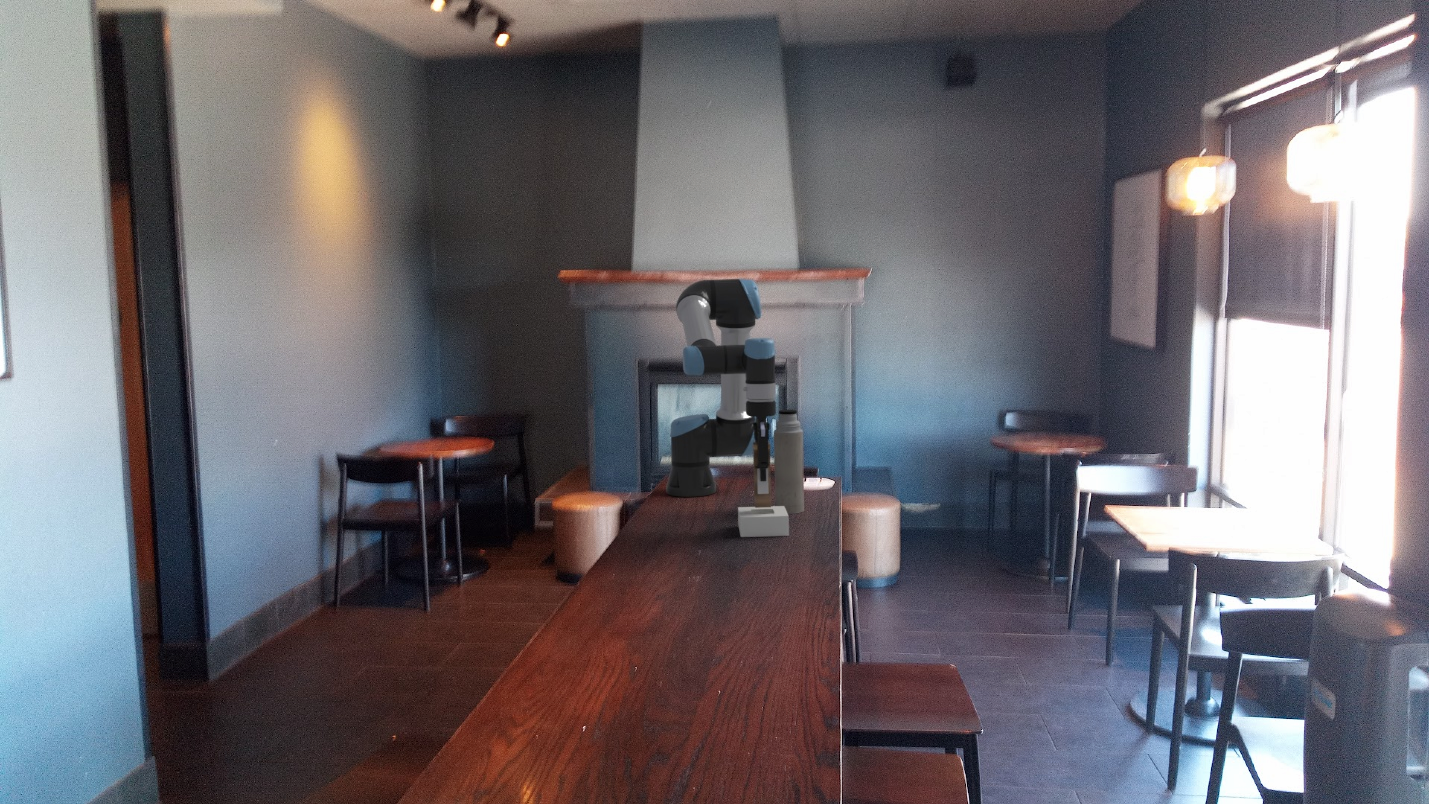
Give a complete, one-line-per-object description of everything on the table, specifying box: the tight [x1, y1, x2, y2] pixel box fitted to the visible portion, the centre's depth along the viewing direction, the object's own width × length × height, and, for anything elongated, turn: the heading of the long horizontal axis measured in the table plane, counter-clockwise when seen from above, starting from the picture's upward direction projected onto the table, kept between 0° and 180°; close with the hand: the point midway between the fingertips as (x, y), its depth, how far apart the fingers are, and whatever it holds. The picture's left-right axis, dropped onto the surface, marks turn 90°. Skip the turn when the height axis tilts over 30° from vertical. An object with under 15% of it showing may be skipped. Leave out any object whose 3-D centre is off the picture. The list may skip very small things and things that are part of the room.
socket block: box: [737, 505, 790, 538], centre depth 269 cm, size 12×12×5 cm
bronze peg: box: [752, 441, 772, 508], centre depth 268 cm, size 4×4×16 cm
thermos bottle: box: [773, 409, 805, 515], centre depth 291 cm, size 8×8×28 cm
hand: (762, 491), depth 268 cm, fingers closed on bronze peg, 4 cm apart
